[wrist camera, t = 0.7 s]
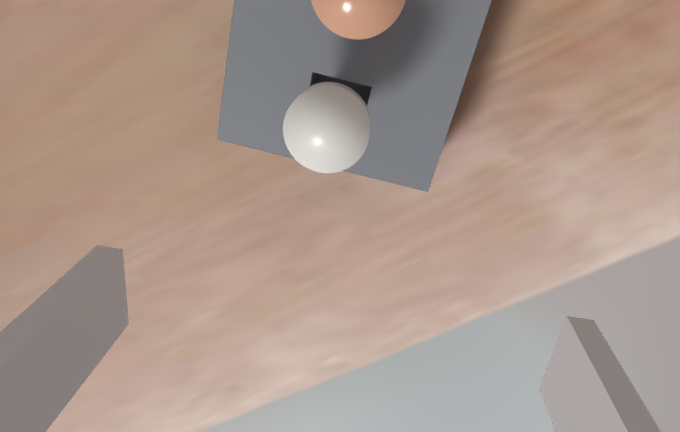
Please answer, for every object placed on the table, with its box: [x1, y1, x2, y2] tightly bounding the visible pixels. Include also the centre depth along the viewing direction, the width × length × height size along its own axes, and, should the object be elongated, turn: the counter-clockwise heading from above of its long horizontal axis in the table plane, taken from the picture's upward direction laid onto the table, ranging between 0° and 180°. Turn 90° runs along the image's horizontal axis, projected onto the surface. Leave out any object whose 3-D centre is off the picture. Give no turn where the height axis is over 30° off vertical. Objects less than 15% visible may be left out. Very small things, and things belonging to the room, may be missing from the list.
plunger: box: [283, 82, 371, 173], centre depth 26 cm, size 4×4×5 cm
